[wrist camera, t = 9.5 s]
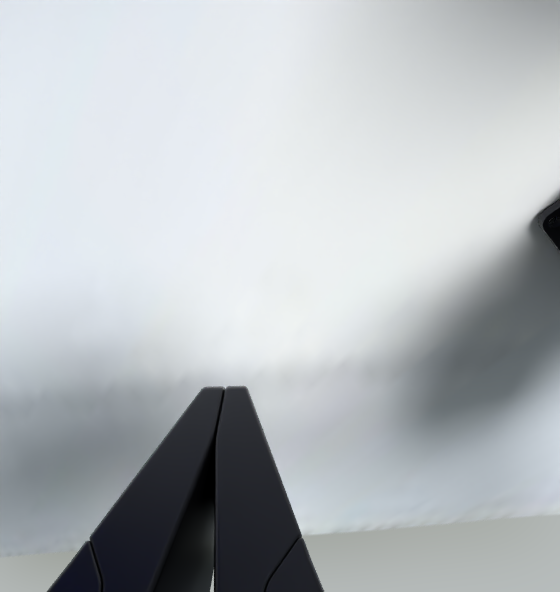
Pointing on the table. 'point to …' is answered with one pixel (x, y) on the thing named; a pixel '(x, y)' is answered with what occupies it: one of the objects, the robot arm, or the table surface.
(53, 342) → the table surface
